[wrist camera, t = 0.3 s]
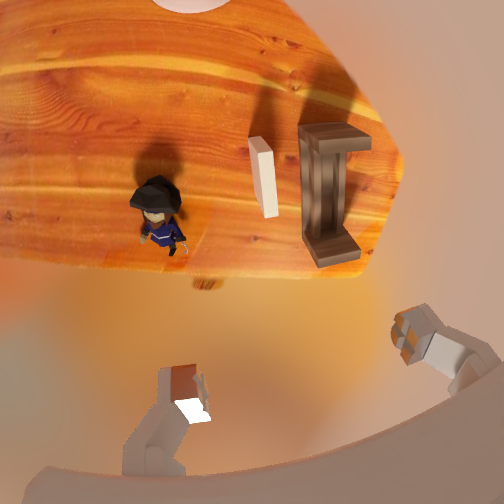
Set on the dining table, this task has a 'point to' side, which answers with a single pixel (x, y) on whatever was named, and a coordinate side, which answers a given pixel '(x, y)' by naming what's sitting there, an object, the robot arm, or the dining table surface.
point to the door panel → (263, 175)
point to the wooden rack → (327, 189)
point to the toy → (159, 212)
